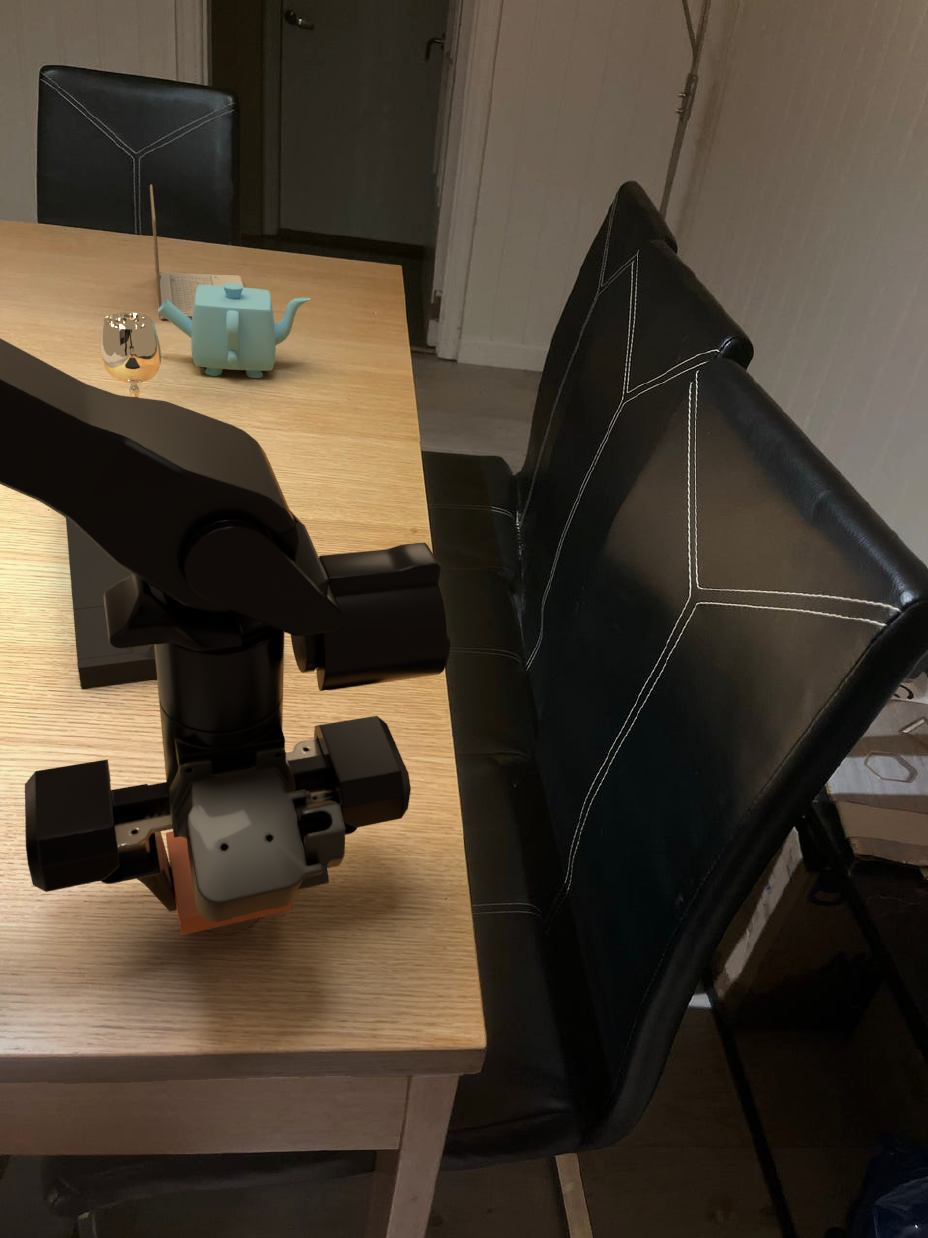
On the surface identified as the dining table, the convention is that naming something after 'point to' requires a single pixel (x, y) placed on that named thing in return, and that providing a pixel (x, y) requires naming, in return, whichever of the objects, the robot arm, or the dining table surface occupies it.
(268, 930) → the dining table surface
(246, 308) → the teapot
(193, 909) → the reddish orange rectangular block
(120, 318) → the wineglass
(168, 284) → the laptop
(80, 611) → the back pad
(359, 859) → the dining table surface
